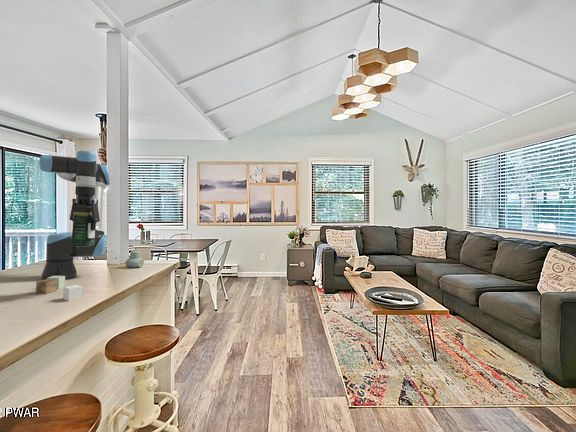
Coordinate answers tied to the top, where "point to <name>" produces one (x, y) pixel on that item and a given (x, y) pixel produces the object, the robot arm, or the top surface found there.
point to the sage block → (58, 281)
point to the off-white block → (73, 293)
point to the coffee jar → (81, 227)
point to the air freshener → (134, 260)
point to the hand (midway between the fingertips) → (83, 237)
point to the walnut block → (46, 286)
